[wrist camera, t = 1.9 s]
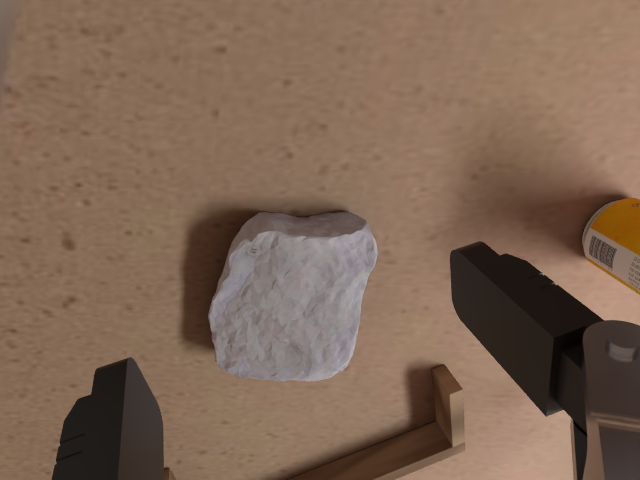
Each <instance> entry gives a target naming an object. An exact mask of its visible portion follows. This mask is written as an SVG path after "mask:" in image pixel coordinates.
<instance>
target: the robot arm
mask: <svg viewBox="0 0 640 480" xmlns="http://www.w3.org/2000/svg"><path fill="white" fill-rule="evenodd" d="M450 268H451V289H452V301H453V305H454V308H455V311H456V313H457V315H458V317H459V318H460V320H461V321H462V322H463V323H464V324H465V326H466V327H467V328H468V329H469V330H470V331H471V332H472V334H473V335H474V336H475V337H476V338H477V339H478V340H479V341H480V343H481V344H482V345H483V346H484V347H485V348H486V349H487V350H488V352H489V353H490V354H491V355H492V356H493V357H494V358H495V359H496V361H497V362H498V363H499V364H500V365H501V366H502V367H503V369H504V370H505V371H506V372H507V373H508V374H509V375H510V376H511V378H512V379H513V380H514V381H515V382H516V383H517V384H518V385H519V387H520V388H521V389H522V390H523V391H524V392H525V393H526V394H527V396H528V397H529V398H530V399H531V400H532V401H533V402H534V403H535V405H536V406H537V407H538V408H539V409H540V410H541V411H542V413H543V414H544V415H545V416H546V417H547V416H549V415H551V414H554V413H556V412H559V411H561V410H565V411H566V413H567V414H568V415H569V416H570V417H571V425H570V429H571V444H572V460H573V475H574V480H640V326H639V325H636V324H633V323H629V322H625V321H618V320H607V321H604V320H603V319H602V318H600V317H599V316H598V315H596V314H595V313H594V312H592V311H591V310H590V309H589V308H587V307H586V306H585V305H583V304H582V303H581V302H579V301H578V300H577V299H575V298H574V297H573V296H572V295H570V294H569V293H568V292H566V291H565V290H564V289H562V288H561V287H560V286H558V285H555V282H553V281H552V280H551V279H549V278H548V277H547V276H545V275H544V276H543V275H542V272H540V271H539V270H538V269H536V268H535V267H534V266H532V265H531V264H530V263H528V262H527V261H525V260H522V259H520V258H517V257H514V256H512V255H509V254H503V255H499V254H497V253H496V252H495V251H494V250H492V249H491V248H490V247H489V246H487V245H486V244H485V243H483V242H476V243H473V244H470V245H467V246H464V247H461V248H458V249H455V250H453V251H452V252H451V254H450ZM56 462H57V464H56V465H55V467H54V471H53V476H52V480H164V456H163V422H162V416H161V412H160V409H159V406H158V403H157V401H156V399H155V397H154V395H153V393H152V392H151V390H150V388H149V386H148V384H147V382H146V380H145V379H144V377H143V375H142V373H141V371H140V369H139V367H138V365H137V364H136V362H135V361H134V359H133V358H131V357H130V358H127V359H124V360H121V361H118V362H115V363H112V364H109V365H106V366H103V367H100V368H97V369H96V371H95V374H94V381H93V387H92V393H91V395H88V396H85V397H82V398H80V399H78V400H77V401H76V403H75V404H74V406H73V408H72V409H71V411H70V412H69V414H68V416H67V417H66V419H65V420H64V424H63V429H62V434H61V438H60V446H59V448H58V453H57V457H56Z"/></svg>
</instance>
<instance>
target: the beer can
mask: <svg viewBox="0 0 640 480" xmlns="http://www.w3.org/2000/svg"><path fill="white" fill-rule="evenodd" d="M582 245H583V248H584V253H585V256H586V258H587V260H588V261H589V262H591V263H592V264H594V265H595V266H597V267H598V268H600V269H601V270H603V271H604V272H606V273H607V274H609V275H610V276H612V277H613V278H615V279H617V280H618V281H620V282H621V283H623V284H624V285H626V286H627V287H629V288H630V289H632V290H633V291H635V292H636V293H638V294H640V200H639V199H636V198H627V199H623V200H617V201H613V202H610V203H608V204H606V205H604V206H603V207H601V208H600V209H599V210H598V211H597V212H596V213H595V214H594V215H593V216H592V217H591V218H590V220H589V221H588V223H587V225H586V227H585V229H584V232H583V236H582Z"/></svg>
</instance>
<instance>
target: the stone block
mask: <svg viewBox="0 0 640 480" xmlns="http://www.w3.org/2000/svg"><path fill="white" fill-rule="evenodd" d="M377 253H378V252H377V245H376V241H375V238H374V237H373V235H372V233H371V231H370V229H369V226H368V224H367V222H366V220H364V219H362V218H361V217H359V216H357V215H354V214H352V213H350V212H337V213H326V214H322V215H313V216H309V217H295V216H290V215H287V214H283V213H269V212H260V213H258V214H257V215H255V216H254V217H252V218H251V219H249V220H248V221H247V222H246V223H245V224H244V225H243V226H242V227H241V229H240V231H239V232H238V234H237V235H236V236H235V238H234V240H233V241H232V243H231V247H230V249H229V252H228V256H227V259H226V263H225V266H224V269H223V273H222V275H221V277H220V279H219V281H218V285H217V290H216V293H215V295H214V297H213V298H212V303H211V307H210V310H209V314H208V319H209V323H210V327H211V332H212V342H213V344H214V347H215V361H216V362H217V364H218V366H219V367H220V368H221V369H222V370H224V371H225V372H228V373H229V374H232V375H235V376H238V377H242V378H257V379H267V380H275V381H281V382H282V381H286V380H299V381H319V380H323V379H327V378H330V377H332V376H333V375H335V374H336V373H337V372H342V371H343V370H344V368H345V367H347V365H348V363H349V361H350V358H351V357H352V355H353V351H354V347H355V343H356V337H357V334H358V328H359V321H360V312H361V303H362V297H363V292H364V289H365V287H366V284H367V279H368V275H369V274H370V272H371V270H372V269H373V267H374V266H375V263H376V258H377Z"/></svg>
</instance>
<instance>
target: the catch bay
mask: <svg viewBox="0 0 640 480" xmlns="http://www.w3.org/2000/svg"><path fill="white" fill-rule="evenodd" d="M432 377H433V389H434V401H435V413H436V421H435V422H432V423H430V424H427V425H424V426H422V427H419V428H417V429H414V430H412V431H409V432H407V433H404V434H402V435H399V436H397V437H394V438H392V439H389V440H386V441H384V442H381V443H379V444H376V445H374V446H371V447H369V448H366V449H364V450H361V451H359V452H356V453H354V454H351V455H348V456H346V457H343V458H341V459H338V460H336V461H333V462H331V463H328V464H326V465H323V466H321V467H318V468H316V469H313V470H310V471H308V472H305V473H303V474H300V475H298V476H295V477H293V478H290V479H288V480H395V479H397V478H400V477H402V476H405V475H407V474H409V473H412V472H414V471H417V470H419V469H422V468H424V467H426V466H429V465H431V464H434V463H436V462H439V461H441V460H444V459H446V458H448V457H451V456H453V455H456V454H458V453H461V452H463V451H465V429H464V403H463V389H462V387H461V386H460V385H459V383H458V382H457V381H456V379H455V378H454V377H453V375H452V374H451V373H450V371H449V370H448V369H447V367H446V366H445V365H442V366H439V367H436V368H434V369H432ZM164 480H176V479H175V477H174V476H173V474H172V472H171V470H170V469H169V468H167V469H165V470H164Z"/></svg>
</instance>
